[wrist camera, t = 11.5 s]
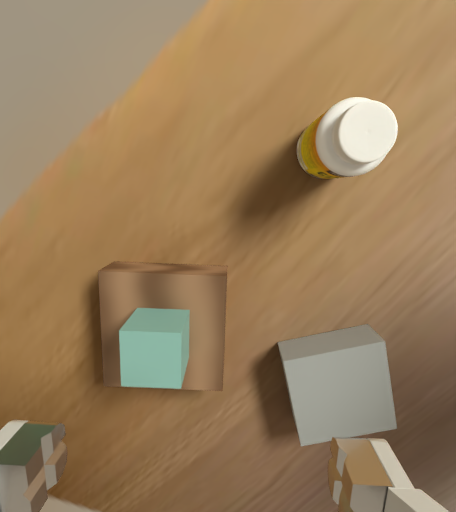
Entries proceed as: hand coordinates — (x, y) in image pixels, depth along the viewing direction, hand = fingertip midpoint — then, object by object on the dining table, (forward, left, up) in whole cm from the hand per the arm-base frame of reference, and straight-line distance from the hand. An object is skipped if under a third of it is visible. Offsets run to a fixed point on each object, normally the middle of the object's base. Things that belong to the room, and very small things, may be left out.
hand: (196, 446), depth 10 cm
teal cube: (+5, +6, -20) cm, 22 cm away
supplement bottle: (-10, -12, -25) cm, 29 cm away
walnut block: (+5, +6, -24) cm, 26 cm away
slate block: (-13, +12, -24) cm, 30 cm away
